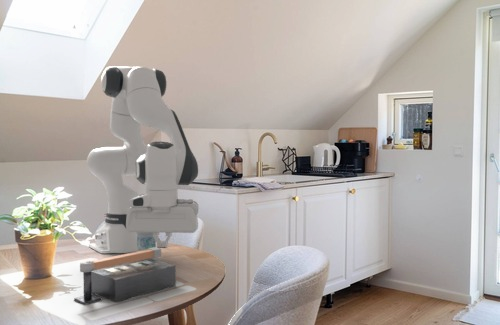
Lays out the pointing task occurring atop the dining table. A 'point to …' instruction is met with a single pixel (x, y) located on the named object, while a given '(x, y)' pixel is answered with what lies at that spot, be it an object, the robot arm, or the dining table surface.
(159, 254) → the swing arm
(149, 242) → the bottle
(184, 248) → the dining table surface
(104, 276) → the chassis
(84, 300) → the pivot post
